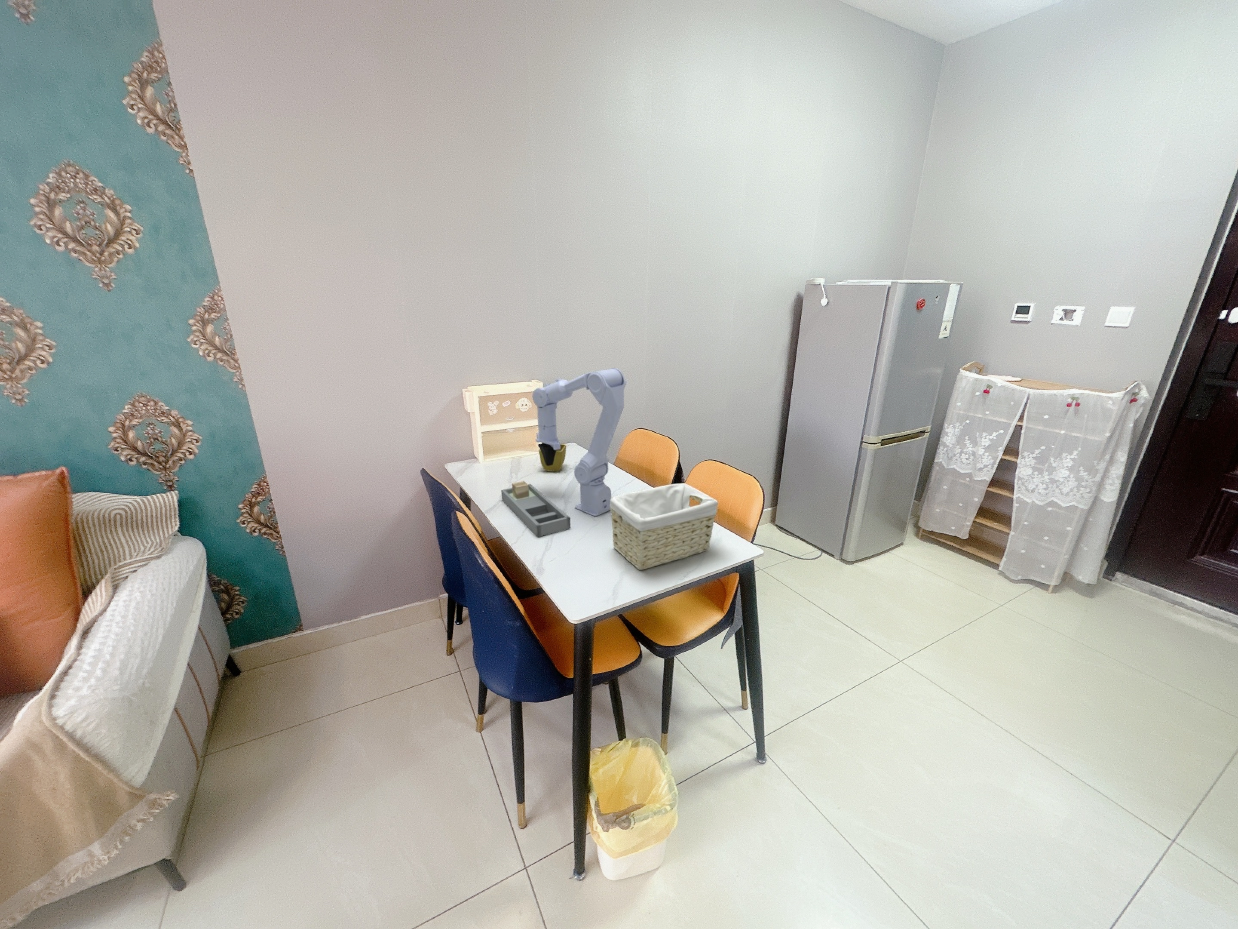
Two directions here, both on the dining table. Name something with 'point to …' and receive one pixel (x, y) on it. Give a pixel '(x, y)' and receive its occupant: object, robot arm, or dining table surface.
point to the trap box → (537, 512)
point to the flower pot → (555, 459)
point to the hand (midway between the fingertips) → (549, 464)
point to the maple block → (520, 489)
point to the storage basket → (662, 524)
